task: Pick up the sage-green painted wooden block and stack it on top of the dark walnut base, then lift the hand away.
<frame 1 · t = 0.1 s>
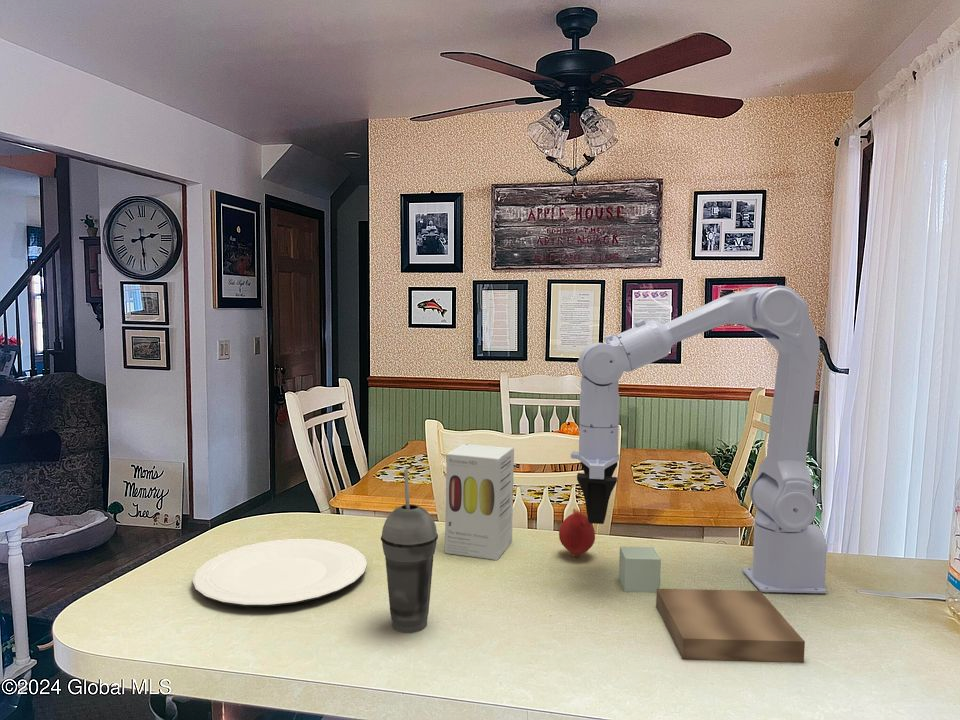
hand: (597, 514, 103), 10 cm above the kitchen counter, fingers open, 7 cm apart
beverage cup: (409, 625, 89), on the kitchen counter
supplement box: (479, 549, 116), on the kitchen counter
plate: (282, 580, 103), on the kitchen counter
onion: (576, 557, 113), on the kitchen counter
sage block: (638, 585, 102), on the kitchen counter
walnut base: (723, 631, 87), on the kitchen counter
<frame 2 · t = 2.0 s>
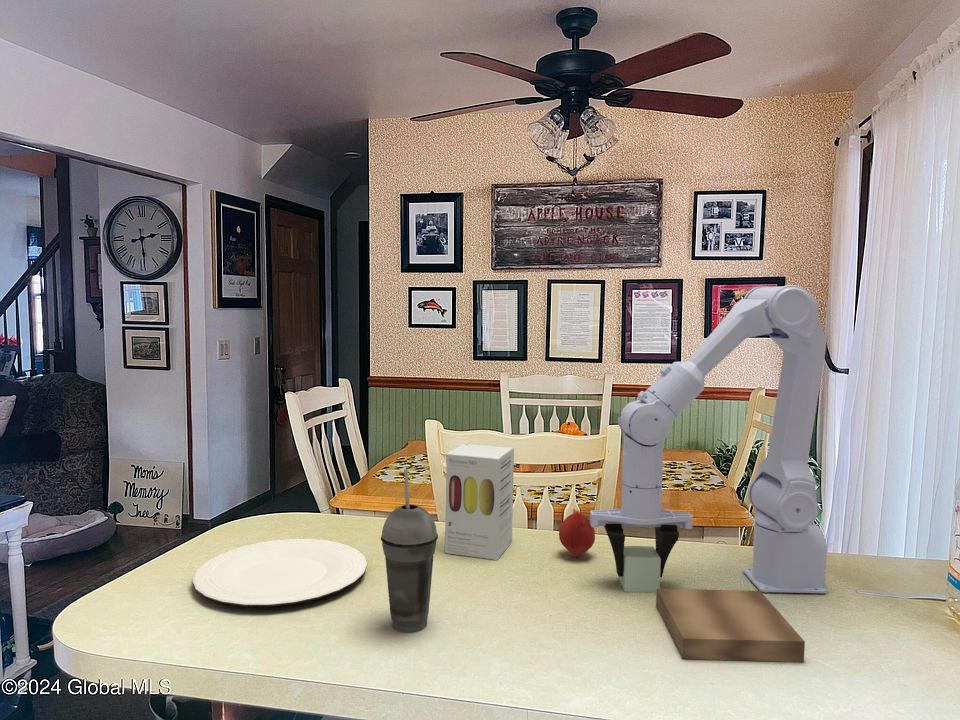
hand: (639, 574, 101), 2 cm above the kitchen counter, fingers closed on sage block, 5 cm apart
sage block: (638, 585, 102), on the kitchen counter, touching gripper
everything else where it was.
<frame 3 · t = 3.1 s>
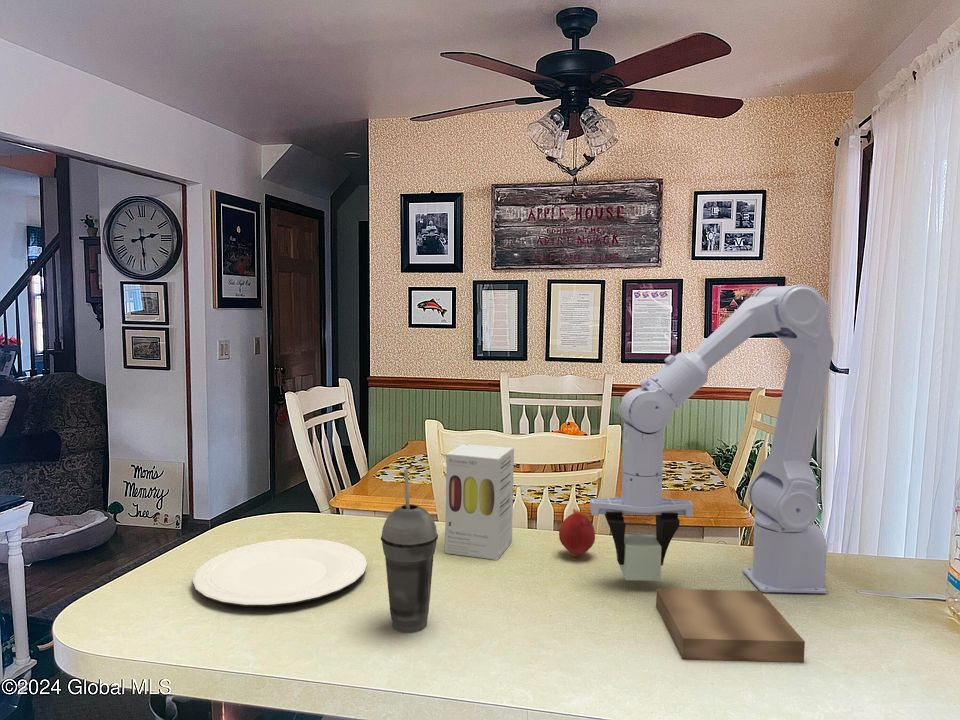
hand: (639, 562, 101), 3 cm above the kitchen counter, fingers closed on sage block, 5 cm apart
sage block: (639, 573, 101), point 2 cm above the kitchen counter, touching gripper
everything else where it was.
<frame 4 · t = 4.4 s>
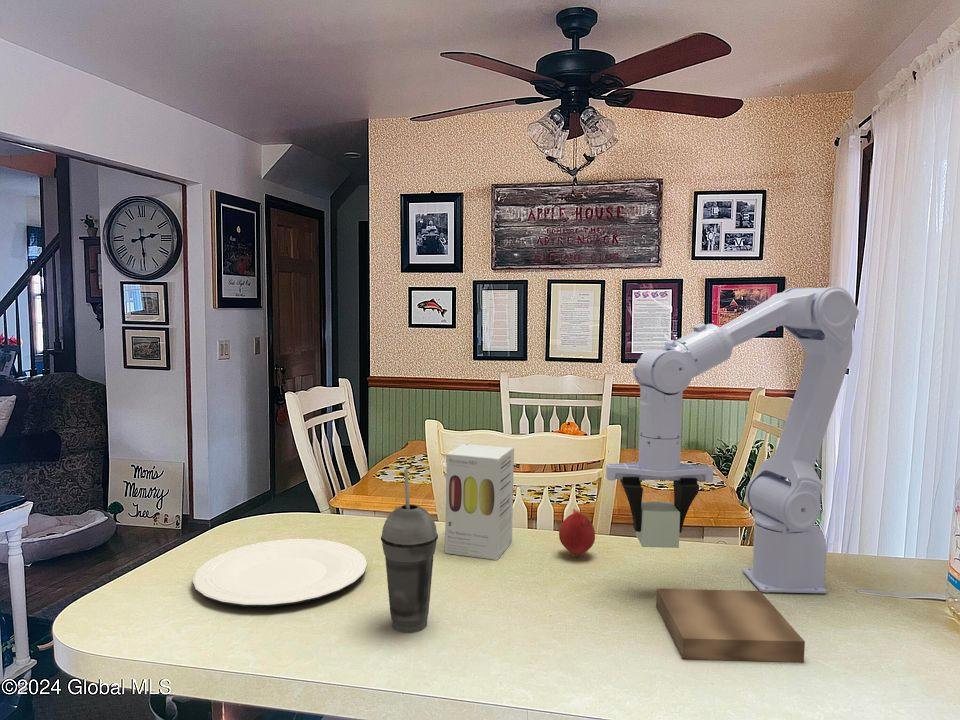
hand: (657, 530, 98), 9 cm above the kitchen counter, fingers closed on sage block, 5 cm apart
sage block: (656, 541, 98), point 8 cm above the kitchen counter, touching gripper
everything else where it was.
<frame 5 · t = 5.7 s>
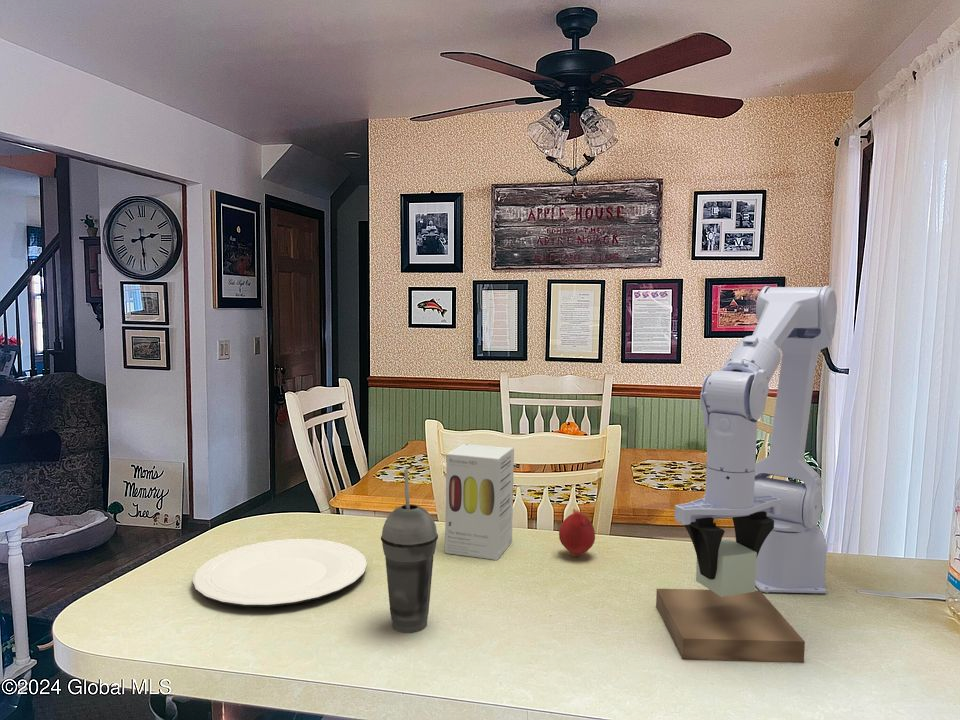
hand: (726, 573, 87), 8 cm above the kitchen counter, fingers closed on sage block, 5 cm apart
sage block: (724, 586, 87), point 6 cm above the kitchen counter, touching gripper
everything else where it was.
when the fingers open (6 cm above the kitchen counter, at t = 6.9 s): sage block drops 1 cm, resting on walnut base.
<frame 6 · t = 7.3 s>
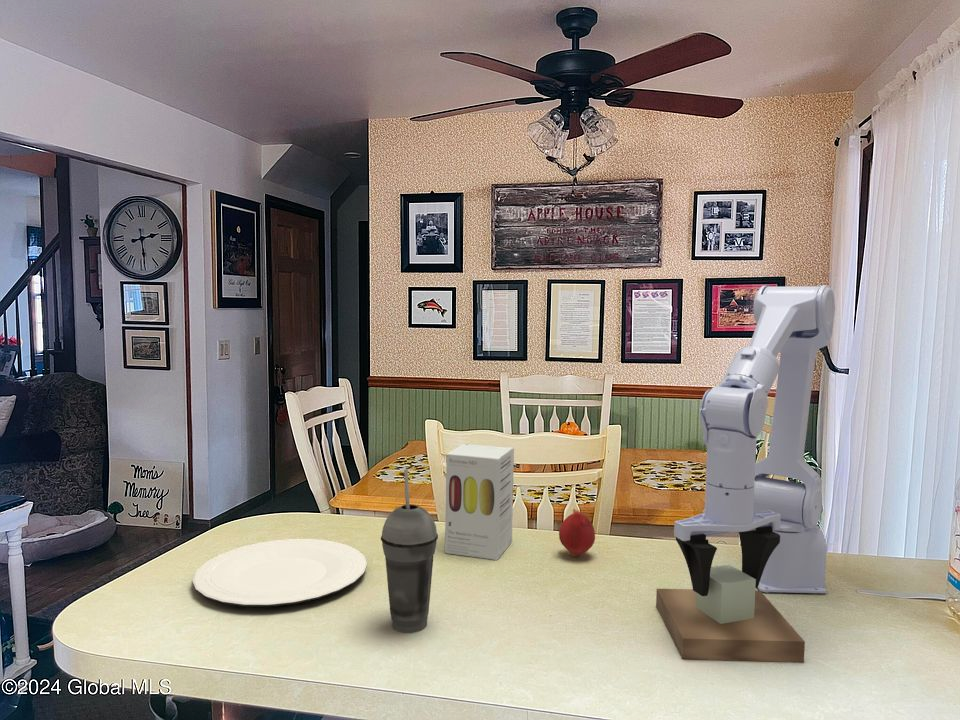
hand: (725, 589, 87), 6 cm above the kitchen counter, fingers open, 7 cm apart
sage block: (724, 612, 87), point 2 cm above the kitchen counter, touching walnut base
everything else where it was.
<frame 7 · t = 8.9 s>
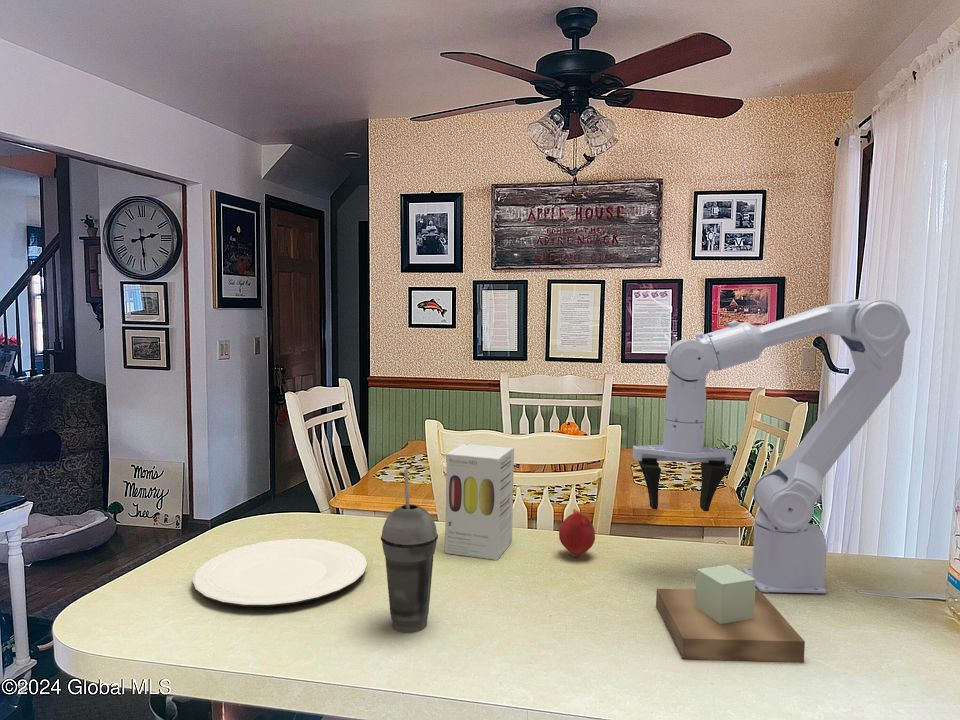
hand: (678, 508, 104), 10 cm above the kitchen counter, fingers open, 7 cm apart
nothing on the kitchen counter moved.
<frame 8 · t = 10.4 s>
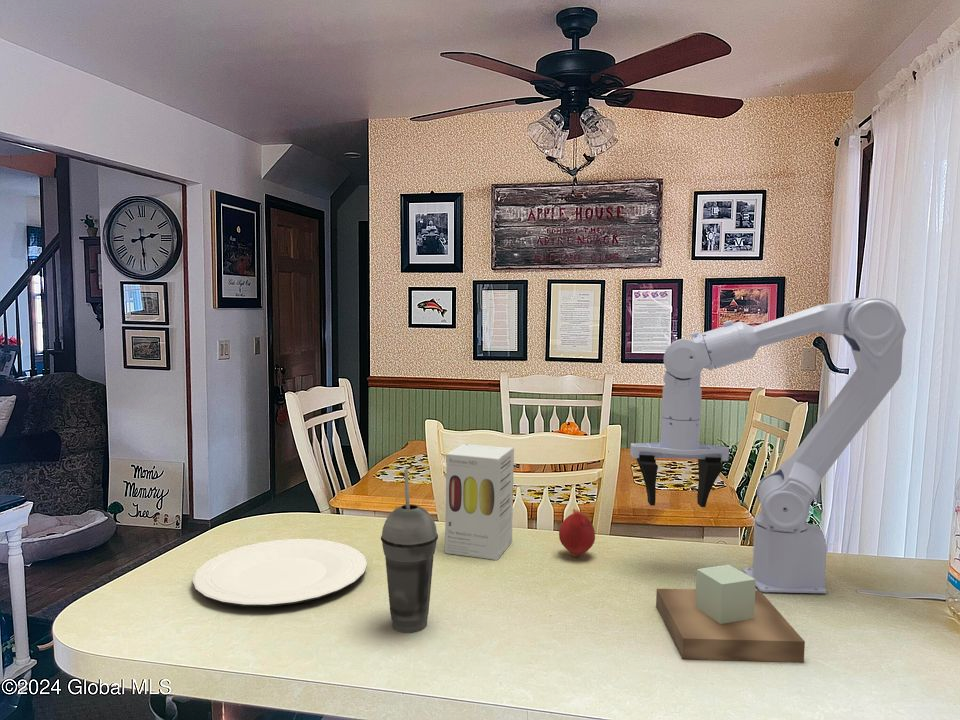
hand: (676, 504, 107), 10 cm above the kitchen counter, fingers open, 7 cm apart
nothing on the kitchen counter moved.
at the end: sage block inside the target area on the walnut base (0.1 cm from its centre), point 2.5 cm above the walnut base's base; sage block tilted 0°; the gripper is holding nothing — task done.
